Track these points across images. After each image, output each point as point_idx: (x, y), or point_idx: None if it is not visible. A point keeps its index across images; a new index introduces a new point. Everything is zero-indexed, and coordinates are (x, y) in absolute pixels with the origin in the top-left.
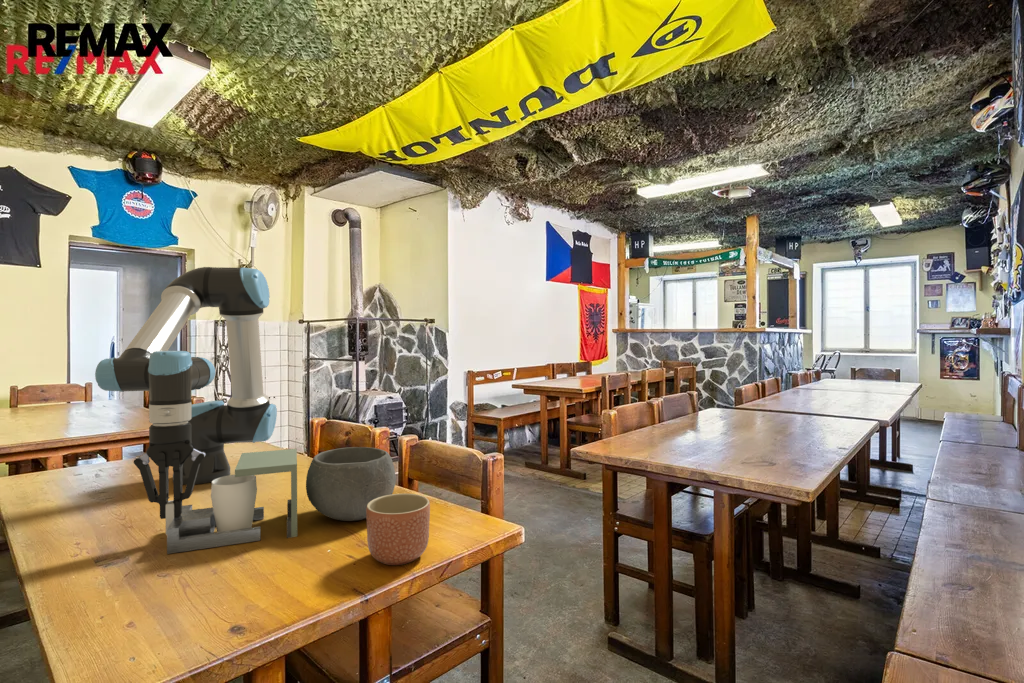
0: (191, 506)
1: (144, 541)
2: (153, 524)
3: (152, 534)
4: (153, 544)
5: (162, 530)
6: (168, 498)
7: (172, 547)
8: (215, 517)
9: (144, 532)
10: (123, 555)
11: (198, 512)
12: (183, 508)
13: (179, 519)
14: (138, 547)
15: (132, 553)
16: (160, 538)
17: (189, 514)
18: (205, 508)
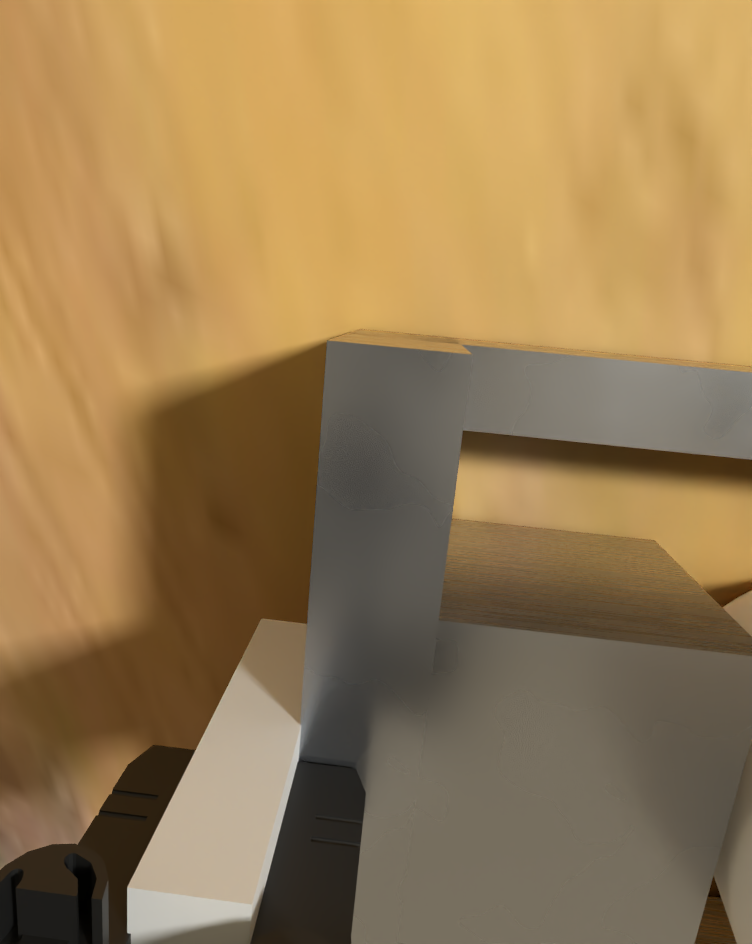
0: (463, 424)
1: (97, 532)
2: (54, 23)
3: (120, 376)
4: (183, 638)
5: (186, 299)
6: (106, 937)
7: None
8: (725, 906)
9: (33, 274)
10: (27, 751)
11: (557, 778)
12: (361, 502)
13: (356, 908)
14: (86, 646)
15: (78, 745)
16: (210, 523)
17: (453, 797)
18: (649, 651)
